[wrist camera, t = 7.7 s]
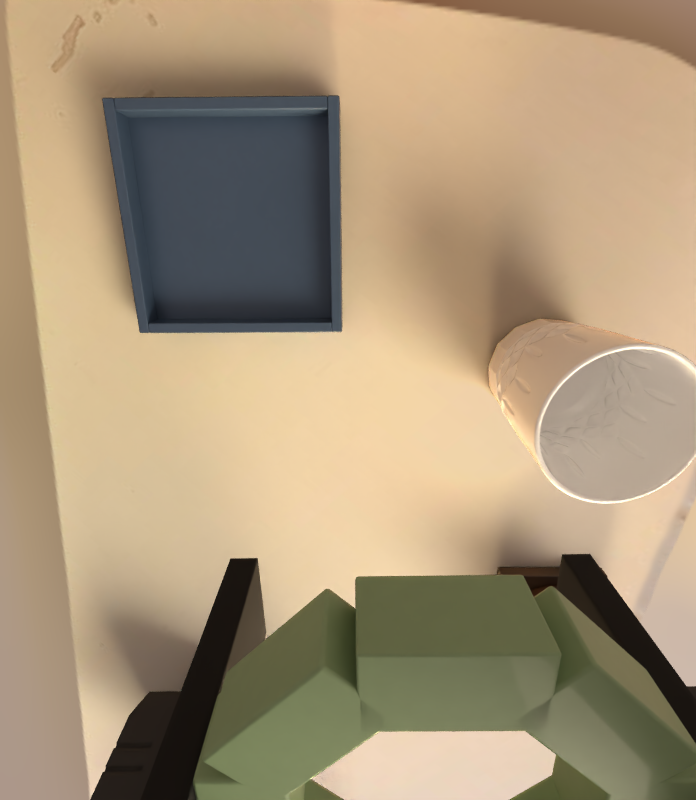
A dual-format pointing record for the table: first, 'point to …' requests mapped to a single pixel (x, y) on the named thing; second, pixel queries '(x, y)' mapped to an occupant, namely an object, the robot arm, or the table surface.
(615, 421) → the white cup
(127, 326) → the table surface
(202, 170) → the tray
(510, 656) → the ring
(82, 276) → the table surface
